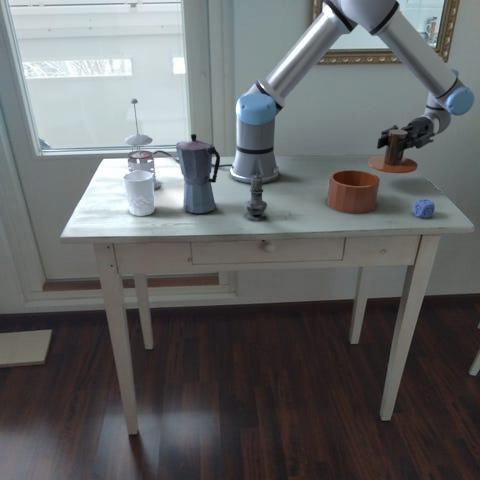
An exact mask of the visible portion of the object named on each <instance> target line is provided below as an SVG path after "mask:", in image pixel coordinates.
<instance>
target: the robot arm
mask: <svg viewBox="0 0 480 480" xmlns="http://www.w3.org/2000/svg"><path fill="white" fill-rule="evenodd" d="M400 9H401V3H399V1H397V0H324V1H323V2H322V11H321V13H320V14H319V15H318V16H317V17H316V19H314V21H313V22H312V23H311V25H309V26H308V28H307V29H306V30H305V31H304V32H303V34H302V35H301V36H300V37H299V38H298V39H297V41H295V43H294V45H293V46H292V47H291V48H290V49H289V50H288V51H287V53H286V54H285V55H284V56H283V57H282V59H280V61H279V62H278V63H277V64H276V66H275V67H273V69H272V70H271V71H270V72H269V74H268V75H267V76H265V78H258V79H257V80H256V81H255V82H254V83H253V85H252V86H251V88H249V89H247V90H246V91H245V92H243V94H242V95H241V96H240V97H239V98H238V100H237V101H236V107H235V113H236V152H235V156H234V158H233V161H232V163H225V164H220V165H219V168H225V167H231V168H230V177H231V178H232V179H233V180H235V181H237V182H240V183H242V184H243V183H244V184H249V185H251V180H252V178H253V177H255V176H256V174H258V176H259V177H261V178H262V184H267V183H271V182H273V181H275V180H277V179H278V177H279V166H278V165H277V161H276V156H275V152H274V150H275V131H276V130H275V129H276V128H275V127H276V116H277V115H279V113H280V112H281V111H282V110H283V109H284V107H286V106H285V105H286V103H285V102H286V98H287V97H288V96H289V95H290V94H291V92H292V91H293V90H294V89H295V88H296V87H297V86H298V85H299V83H300V82H301V81H302V80H303V79H304V78H305V77H306V76H307V74H308V73H309V72H311V70H312V69H313V68H314V67H315V65H316V64H318V62H320V60H321V59H323V57H324V56H325V54H326V53H327V52H328V51H329V50H330V49H331V48H332V46H333V45H335V43H337V41H338V40H339V39H340V37H341V36H343V35H350V34H351V33H352V32H353V31H354V30H355V29H356V28H357V26H361V27H362V28H363V29H365V30H366V31H367V33H368V34H369V35H370V36H372V37H378V38H379V39H380V40H381V41H382V42H383V44H385V46H386V47H387V48H388V49H389V50H390V51H391V52H392V53H393V54H394V55H395V57H397V59H398V60H399V61H400V62H401V63H402V64H403V65H404V66H405V67H406V69H408V71H409V72H410V73H411V74H412V75H413V76H414V77H415V78H416V79H417V80H418V81H419V83H421V85H422V86H423V87H424V88H425V89H426V90H427V91H428V94H427V95H428V96H427V99H426V105H425V109H424V113H423V114H422V115H420V116H418V117H416V118H414V119H412V120H411V121H409V123H408V124H407V125H406V126H403V127H401V128H399V126H398V125H397V124H395V125H393V126H392V127H389V128H387V129H385V130H382V131H381V133H380V137H379V138H378V139H377V144H376V149H378V150H380V149H382V148H384V147H386V146H387V141H388V135H389V131H390V130H404V131H407V132H408V134H407V139H405V140H403V141H401V142H399V143H398V144H397V149H396V153H400V152H401V151H403V150H404V151H405V150H409V149H413V148H414V147H415V149H418V150H419V149H421V148H423V147H425V146H426V145H428V144H430V143H434V140H435V136H437V135H439V134H441V133H443V132H444V131H446V130H447V129H448V128H449V126H450V125H451V123H452V119H453V118H452V116H458V117H459V116H463V115H466V114H468V112H470V110H471V109H472V107H473V106H474V104H475V94H474V92H473V90H471V89H470V88H469V87H468V86H466V85H465V84H464V83H463V82H462V81H461V79H459V74H460V72H459V71H458V70H457V69H453V68H450V67H449V65H447V63H446V62H445V61H444V60H443V58H441V57H440V55H439V54H438V53H437V52H436V51H435V50H434V48H433V47H431V45H430V44H429V43H428V42H427V40H425V38H424V37H423V36H422V35H421V34H420V33H419V31H418V30H417V29H416V28H415V26H413V25H412V24H411V22H410V21H409V20H408V19H407V18H406V17H405V15H404V14H403V13H402V12H401V11H400ZM159 153H162V154H163V155H166V156H168V157H171V158H173V159H174V160H175V161H176V162H178V163H179V158H178V157H176V155H174V154H171V153H169V152H167V151H165V150H160V149H159V150H158V149H157V150H155V151H154V152H152V155H156V154H159ZM212 167H214V168H215V163H212Z"/></svg>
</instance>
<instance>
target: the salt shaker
mask: <svg viewBox="0 0 480 480" xmlns="http://www.w3.org/2000/svg"><path fill="white" fill-rule="evenodd" d="M250 185H251V186H250V189H249V192H250V199H249V200H248V201H246V202H245V207H246V208H245V209H246V210H247V212H248V213H247V214H246V215H245V218H246V219H247V220H248V221H253V222H259V221H260V222H261V221H263V220H265V219H266V214H264V212H266V208H267V207H268V204H267V202H266V201H264V200H263V193H264V189H263V183H262V178H261V177H259V176H258V174H256V176H255V177H253V178H252V180H251V184H250Z"/></svg>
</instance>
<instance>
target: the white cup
mask: <svg viewBox="0 0 480 480" xmlns="http://www.w3.org/2000/svg"><path fill="white" fill-rule="evenodd" d="M153 174H154V173H151V172H148V171H132V172H130V171H128V172H126V173H125V174H123V175H122V179H123V185H124V191H125V195H126V200H127V203H128V209H129V213H130V215H133V216H138V217H143V216H145V217H146V216H148V215H151V214H153V213H154V212H155V210H156V209H155V190H154V183H153Z"/></svg>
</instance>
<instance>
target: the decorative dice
mask: <svg viewBox="0 0 480 480" xmlns="http://www.w3.org/2000/svg"><path fill="white" fill-rule="evenodd" d="M435 209H436V206H435V203H434V201H433V200H431V199H429V198H419V199H418V200H417V201H416V202H415V203H414V205H413V213H414V215H415V216H416V217H417V218H420V219H428V218H430V217H432V216H433V214H434V213H435Z"/></svg>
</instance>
